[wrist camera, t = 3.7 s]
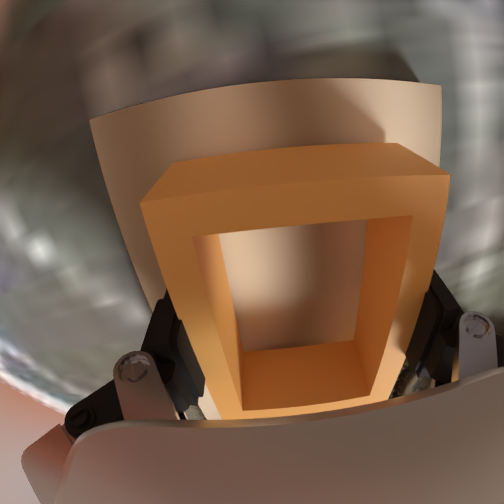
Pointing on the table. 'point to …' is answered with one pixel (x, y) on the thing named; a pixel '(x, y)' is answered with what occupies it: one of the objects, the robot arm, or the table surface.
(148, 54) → the table surface
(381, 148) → the link
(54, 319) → the table surface
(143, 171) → the keeper board
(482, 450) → the robot arm
